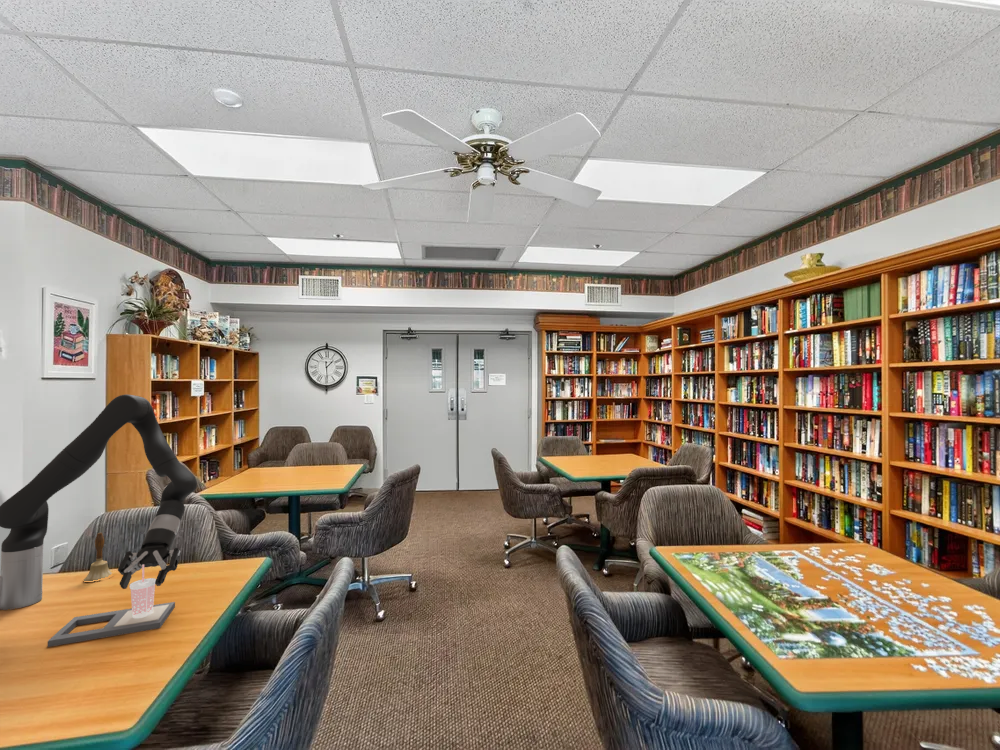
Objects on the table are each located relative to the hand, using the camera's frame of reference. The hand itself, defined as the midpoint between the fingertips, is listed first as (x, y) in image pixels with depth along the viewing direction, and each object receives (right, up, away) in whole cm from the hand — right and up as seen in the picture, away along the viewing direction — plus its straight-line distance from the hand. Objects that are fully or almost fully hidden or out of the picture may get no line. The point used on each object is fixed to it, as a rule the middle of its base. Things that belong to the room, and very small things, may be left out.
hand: (140, 586), depth 130 cm
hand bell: (-41, -13, +34) cm, 55 cm away
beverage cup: (0, -9, +1) cm, 9 cm away
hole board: (-6, -10, -1) cm, 12 cm away
